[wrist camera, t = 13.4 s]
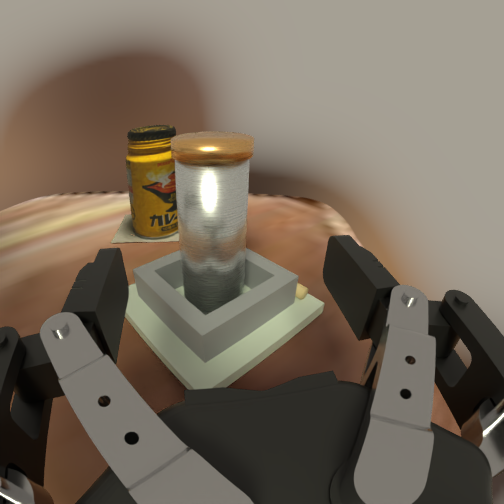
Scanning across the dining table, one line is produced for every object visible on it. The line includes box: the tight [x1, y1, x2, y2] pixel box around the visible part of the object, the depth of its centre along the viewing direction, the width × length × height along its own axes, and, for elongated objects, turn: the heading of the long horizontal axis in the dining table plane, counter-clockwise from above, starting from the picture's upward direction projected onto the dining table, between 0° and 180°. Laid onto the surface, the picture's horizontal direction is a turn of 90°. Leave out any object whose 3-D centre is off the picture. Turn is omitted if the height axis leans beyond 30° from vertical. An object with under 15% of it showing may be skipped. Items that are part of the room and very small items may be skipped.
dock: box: [125, 248, 324, 390], centre depth 22 cm, size 12×12×4 cm
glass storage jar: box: [171, 132, 254, 315], centre depth 20 cm, size 5×5×12 cm
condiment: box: [111, 125, 179, 243], centre depth 32 cm, size 7×8×12 cm
